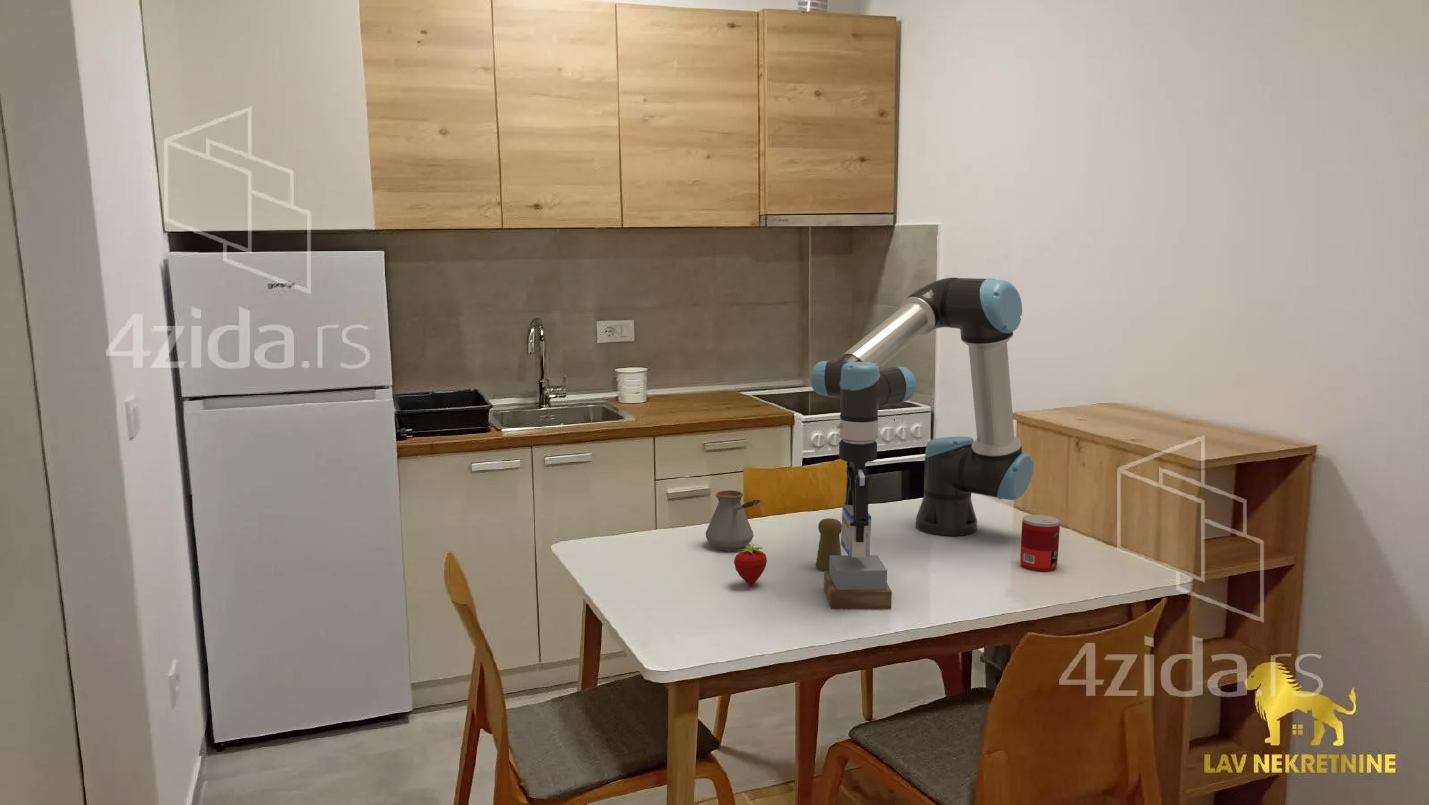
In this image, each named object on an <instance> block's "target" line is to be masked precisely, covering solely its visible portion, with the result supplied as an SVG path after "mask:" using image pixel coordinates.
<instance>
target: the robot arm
mask: <svg viewBox="0 0 1429 805" xmlns="http://www.w3.org/2000/svg"><path fill="white" fill-rule="evenodd" d="M1022 304H1023V303H1022V298H1021V296H1020V293H1019V291H1018V289H1017V287H1016V286H1015V285H1013V283H1012V282H1010V281H1007V280H1004V279H1003V280H1002V279H995V278H991V277H990V278H974V277H973V278H970V277H969V278H968V277H966V278H965V277H962V278H961V277H945V278H941V279H938V280H935V281H933V282H930V283H928V284H927V285H925V286H923V287H921V288H918V289H916V290H915V291H914V292H912V293H911V294H910V295H908V296H907V297H906V298H905V299H903V300H902V301H901V302H900V304H899V307H898V309H897V310H896V311H895V312H893V314H891V315H890V316H889V317H887V319H885V320H884V321H882V322H881V323H880V324H879V325H878V326H877V327H875V328H874V329H872V331H871V332H869V333H868V334H866V335H865V336H864V337H863V338H861V339H860V340H859V341H858V342H857V343H855V344H854V345H853V346H852V347H850V348H849V349H848V350H847V351H845V352H844V353H843V354H842V355H841V356H839V357H838V358H837V359H836V360H834V361H831V360H822V361H818V362H817V363H816V364H815V365H814V366H813V368H812V370H811V373H810V384H811V388H812V390H813V391H814V392H815V393H816V394H818V395H820V396H825V397H828V398H835V399H836V398H837V399H840V402H839V404H840V414H839V422H840V423H837V424H836V428H837V429H839V438H840V440H839V441H838V457H839V459H840V460H841V461H844V462H846V470H845V472H846V487H845V502H844V504H845V505H853V523H850V526H852V555H851V556H852V557H866V525H868V524H869V521H868V513H869V480H870V477H869V476H870V474H869V469H867V467H866V464H867V463H868V462H869V463H872V462H874V461H876V460H877V458H878V442H877V441H876V440H877V439H878V435H879V433H878V432H879V418H878V417H879V416H878V415H879V414H878V413H879V408H881V407H887V406H893V405H899V404H901V403H904V402H907V401H909V400H910V399H912V398H913V396H914V395H915V392H916V387H917V384H916V382H917V381H916V377H915V375H914V374H913V373H912V371H911V370H910V369H908V368H907V367H904V366H890V367H883V366H885V365H886V364H887V363H888V362H890V361H891V360H892V359H894V357H896V355H898V354H899V353H900V352H901V351H902V350H904V349H905V348H906V347H908V345H910V344H911V343H912V342H913V341H914V340H915V339H917V338H918V337H919V336H923V335H928V334H929V333H931V332H932V331H933V330H935V329H941V328H950V329H957V330H959V332H960V340H961V341H962V343H964V344H966V345H967V346H968V354H969V355H968V356H969V364H970V366H969V367H970V375H971V376H970V377H971V386H972V387H971V388H972V396H973V406H974V408H973V409H974V417H975V418H974V420H975V431H976V439H975V440H974V438H973V437H971V436H963V435H962V436H958V435H957V436H945V437H938V438H933V439H931V440H929V441H928V442H927V443H926V445H925V447H926V448H925V453H924V486H923V489H924V490H923V498H922V500H921V503H920V505H919V509H918V511H917V514H916V516H915V527H916V528H917V529H918V530H919V531H922V532H925V533H928V534H932V535H938V536H947V537H948V536H950V537H953V536H954V537H958V536H960V537H961V536H967V535H972V534H974V533H976V532H977V530H978V519H977V516H976V513H975V509H974V508H975V507H974V504H973V502H972V494H977V495H982V496H986V497H990V498H991V497H992V498H996V499H998V500H1007V501H1016V500H1019V499H1020V498H1021V497H1022V496H1023V495H1024V494H1025V493H1026V491H1027V490H1028V488H1029V486H1030V484H1031V481H1032V478H1033V475H1034V474H1033V472H1034V459H1033V457H1032V456H1031V454H1028V453H1027V452H1023V447H1022V446H1023V445H1022V441H1021V440H1020V439H1019V438H1018V437H1017V436H1015V428H1014V427H1015V426H1014V416H1013V404H1012V403H1013V402H1012V390H1011V378H1010V367H1009V366H1010V364H1009V363H1010V361H1009V354H1008V351H1009V350H1008V342H1009V341H1010V340H1011V339H1012V338H1013V337H1014V332H1015V331H1016V330H1017V329H1018V328H1019V325H1020V324H1021V320H1022V318H1021V316H1022V315H1023V305H1022Z"/></svg>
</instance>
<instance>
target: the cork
mask: <svg viewBox="0 0 1429 805" xmlns="http://www.w3.org/2000/svg"><path fill="white" fill-rule="evenodd" d="M817 528H818V532H819V533H820V537H819V542H818V549H817V555H816V556H817V557H816V561H815V562H816V563H815V569H817V570H819V571H821V572H829V560H830V555H842V549H841V548H842V546H841V537H840V534H841V530H842V522H841V521H839V519H836V518H824V519H821V520H819V522H818V527H817Z"/></svg>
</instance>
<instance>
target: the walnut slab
mask: <svg viewBox="0 0 1429 805" xmlns="http://www.w3.org/2000/svg"><path fill="white" fill-rule="evenodd" d="M823 590H824V593H825V597H826V598H827V602H828V605H829V607H830V610H892V603H893V602H892V599H893V598H892V596H893V592H892V590H891V588H890V586H889V584H888V583H887V590H836V588H835V585H834V583H833V581H832V579H831V577H830V575H829V572H826V571H823Z"/></svg>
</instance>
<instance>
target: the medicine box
mask: <svg viewBox="0 0 1429 805" xmlns="http://www.w3.org/2000/svg"><path fill="white" fill-rule="evenodd" d="M868 521H869V524H868V525H866V557H868V556H870V555H871V538H872V537H871V536H872V515H871V514H870V513H869V512H868ZM850 523H853V505H842V511H841V525H842V530H841V533H840V534H841V535H840V536H841V537H840V546H841V548H843V550H844V551H845V553H846V555H848V556H849V557H852V556H851V555H852V526H850Z"/></svg>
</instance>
